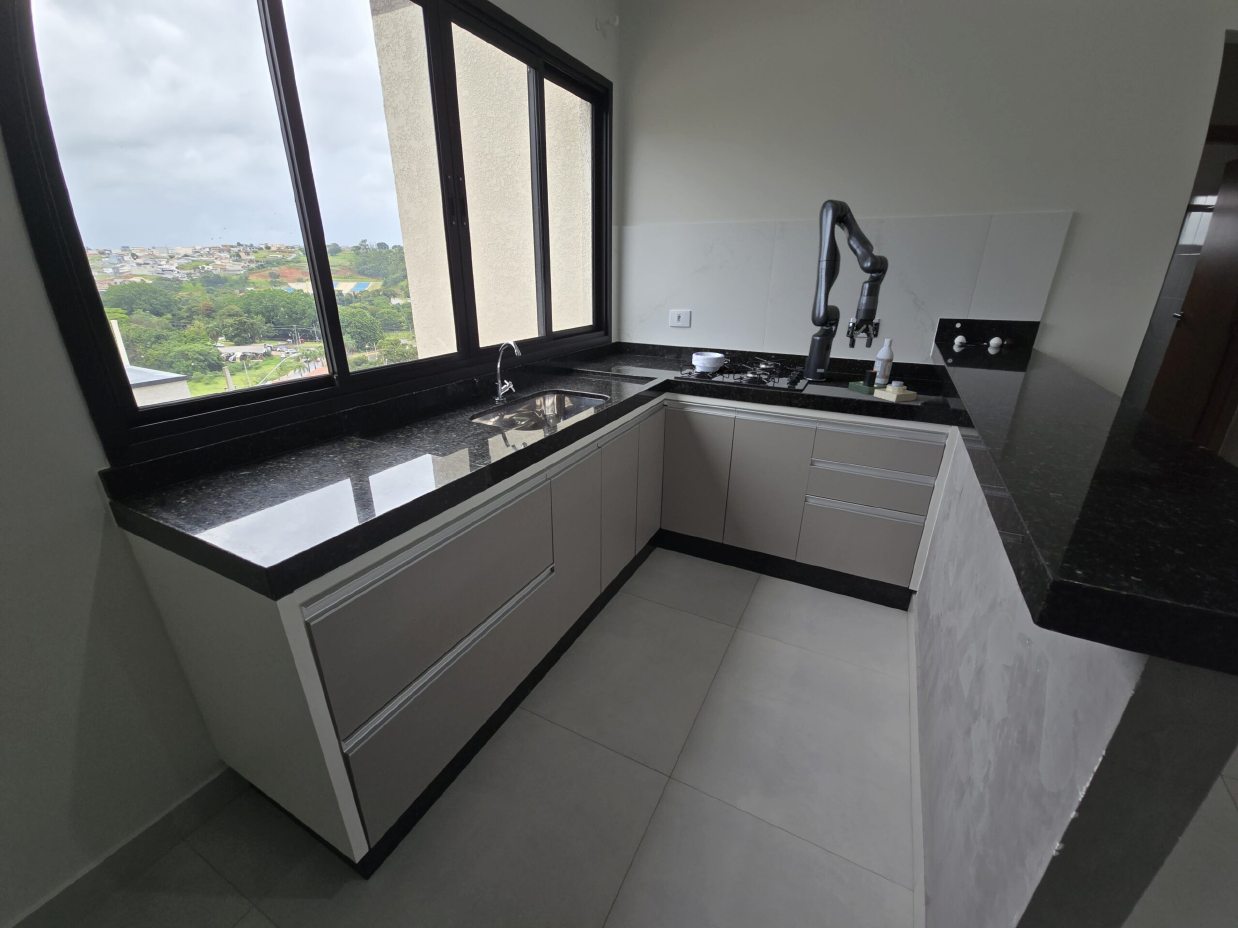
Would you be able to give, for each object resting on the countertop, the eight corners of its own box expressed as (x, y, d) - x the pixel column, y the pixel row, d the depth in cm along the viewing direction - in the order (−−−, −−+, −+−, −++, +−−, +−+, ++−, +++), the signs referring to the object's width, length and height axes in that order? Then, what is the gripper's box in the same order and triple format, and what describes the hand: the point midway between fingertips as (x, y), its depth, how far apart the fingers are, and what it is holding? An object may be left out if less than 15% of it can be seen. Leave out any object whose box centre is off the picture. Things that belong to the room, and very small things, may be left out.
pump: (889, 386, 205) (890, 381, 204) (895, 385, 206) (896, 380, 206) (897, 388, 201) (899, 383, 201) (904, 387, 203) (905, 382, 202)
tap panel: (847, 389, 218) (849, 382, 217) (867, 387, 223) (868, 380, 222) (867, 394, 210) (868, 387, 209) (887, 392, 215) (888, 385, 214)
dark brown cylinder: (860, 383, 216) (863, 369, 214) (868, 382, 218) (871, 369, 216) (869, 385, 213) (872, 371, 211) (876, 384, 214) (879, 371, 212)
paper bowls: (725, 373, 239) (727, 356, 236) (693, 373, 239) (694, 356, 237) (720, 368, 253) (721, 352, 251) (690, 367, 254) (691, 351, 251)
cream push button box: (873, 396, 207) (876, 384, 206) (893, 394, 212) (896, 382, 210) (895, 402, 199) (898, 389, 197) (915, 399, 204) (918, 387, 202)
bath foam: (882, 385, 230) (892, 340, 223) (867, 382, 235) (877, 338, 228) (890, 383, 233) (900, 339, 226) (876, 380, 239) (886, 337, 232)
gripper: (873, 307, 213) (866, 346, 219) (846, 307, 209) (839, 347, 214) (887, 308, 206) (880, 348, 212) (859, 308, 202) (852, 349, 207)
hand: (859, 347), depth 213 cm, fingers open, 8 cm apart
